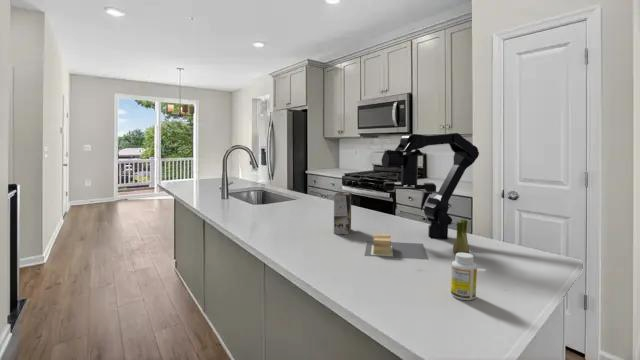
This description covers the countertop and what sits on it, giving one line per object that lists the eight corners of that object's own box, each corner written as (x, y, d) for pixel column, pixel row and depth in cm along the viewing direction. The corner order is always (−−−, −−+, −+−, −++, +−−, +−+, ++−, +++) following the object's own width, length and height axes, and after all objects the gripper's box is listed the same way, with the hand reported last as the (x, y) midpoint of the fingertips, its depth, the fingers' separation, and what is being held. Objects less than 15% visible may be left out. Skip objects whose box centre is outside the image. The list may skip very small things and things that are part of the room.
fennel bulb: (457, 258, 113) (459, 221, 111) (448, 254, 117) (449, 218, 116) (473, 257, 114) (474, 220, 113) (463, 252, 119) (464, 217, 118)
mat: (422, 245, 128) (422, 243, 127) (428, 261, 110) (428, 258, 110) (367, 242, 131) (367, 240, 131) (364, 257, 114) (364, 255, 113)
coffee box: (349, 234, 143) (349, 195, 141) (333, 233, 144) (333, 194, 142) (351, 229, 152) (351, 192, 150) (336, 228, 153) (337, 191, 151)
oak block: (390, 254, 114) (390, 241, 114) (373, 253, 115) (373, 240, 115) (390, 246, 123) (390, 234, 122) (374, 245, 124) (374, 233, 123)
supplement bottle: (466, 290, 88) (468, 250, 87) (480, 300, 82) (482, 257, 81) (446, 292, 87) (447, 251, 86) (458, 302, 81) (460, 259, 80)
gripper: (433, 167, 137) (431, 206, 138) (384, 166, 140) (383, 205, 142) (437, 169, 126) (435, 212, 127) (384, 168, 129) (383, 210, 131)
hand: (408, 209), depth 132 cm, fingers open, 9 cm apart
